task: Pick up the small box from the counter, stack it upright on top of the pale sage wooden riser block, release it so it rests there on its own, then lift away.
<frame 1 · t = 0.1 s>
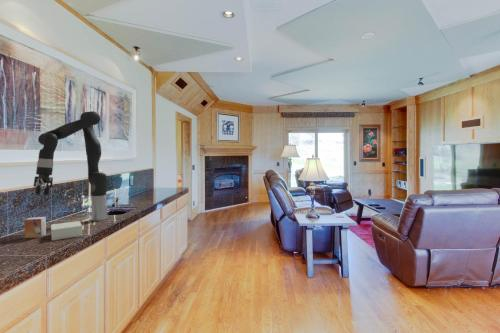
hand: (41, 194, 158), 23 cm above the countertop, tool pointing down, fingers open, 8 cm apart
small box: (35, 237, 152), on the countertop
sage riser: (66, 235, 155), on the countertop
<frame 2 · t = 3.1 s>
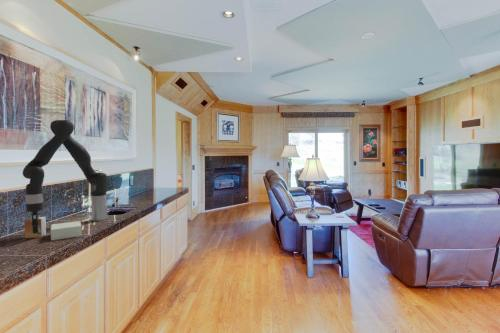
hand: (35, 231, 152), 3 cm above the countertop, tool pointing down, fingers closed on small box, 7 cm apart
small box: (35, 236, 152), on the countertop, touching gripper
everything else where it was.
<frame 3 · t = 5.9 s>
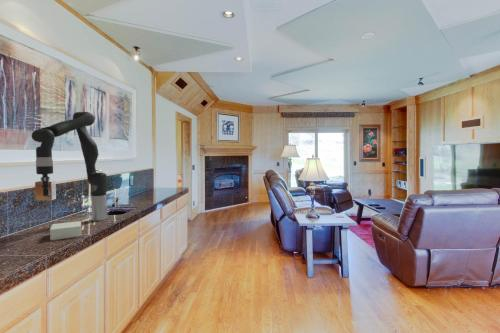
hand: (46, 194, 153), 23 cm above the countertop, tool pointing down, fingers closed on small box, 7 cm apart
small box: (46, 200, 153), point 20 cm above the countertop, touching gripper
everything else where it was.
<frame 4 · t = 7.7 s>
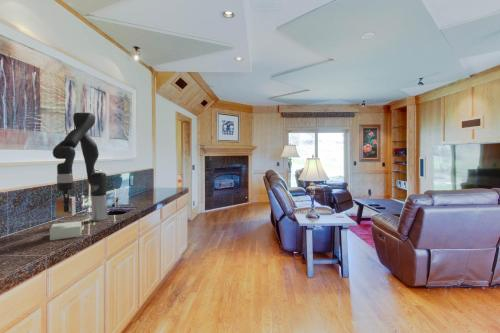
hand: (66, 210, 155), 14 cm above the countertop, tool pointing down, fingers closed on small box, 7 cm apart
small box: (66, 216, 155), point 11 cm above the countertop, touching gripper
everything else where it was.
when the fingers open (10 cm above the countertop, at t = 9.1 s): small box drops 2 cm, point 5 cm above the countertop.
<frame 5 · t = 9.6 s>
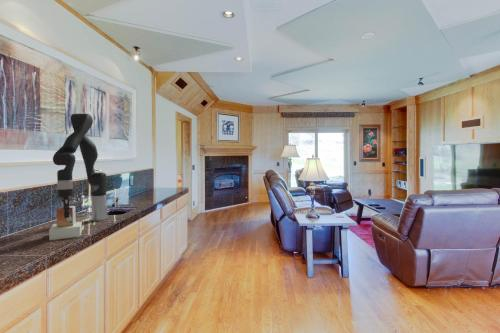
hand: (66, 216, 155), 11 cm above the countertop, tool pointing down, fingers open, 8 cm apart
small box: (66, 225, 155), point 5 cm above the countertop
everything else where it was.
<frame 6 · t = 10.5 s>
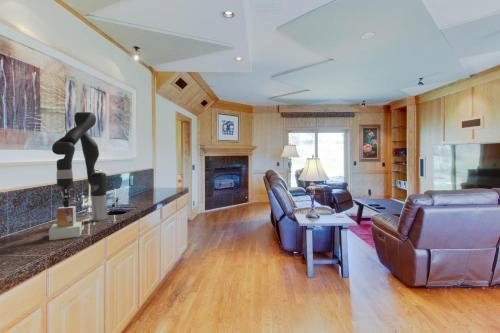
hand: (65, 206, 154), 17 cm above the countertop, tool pointing down, fingers open, 8 cm apart
small box: (66, 225, 155), point 5 cm above the countertop, touching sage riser
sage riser: (66, 235, 155), on the countertop, touching small box
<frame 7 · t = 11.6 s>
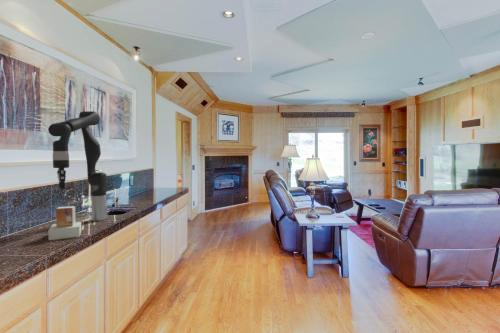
hand: (62, 188, 154), 27 cm above the countertop, tool pointing down, fingers open, 8 cm apart
nothing on the countertop moved.
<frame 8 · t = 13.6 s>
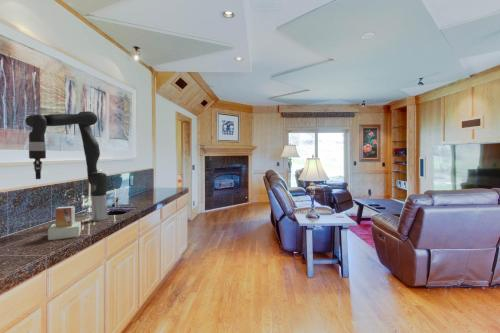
hand: (38, 178, 155), 32 cm above the countertop, tool pointing down, fingers open, 8 cm apart
nothing on the countertop moved.
at the end: small box inside the target area on the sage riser (0.4 cm from its centre), point 5.8 cm above the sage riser's base; small box tilted 1°; the gripper is holding nothing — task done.
